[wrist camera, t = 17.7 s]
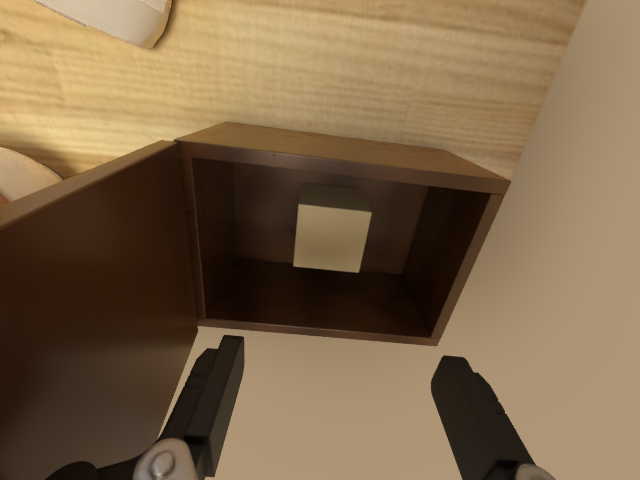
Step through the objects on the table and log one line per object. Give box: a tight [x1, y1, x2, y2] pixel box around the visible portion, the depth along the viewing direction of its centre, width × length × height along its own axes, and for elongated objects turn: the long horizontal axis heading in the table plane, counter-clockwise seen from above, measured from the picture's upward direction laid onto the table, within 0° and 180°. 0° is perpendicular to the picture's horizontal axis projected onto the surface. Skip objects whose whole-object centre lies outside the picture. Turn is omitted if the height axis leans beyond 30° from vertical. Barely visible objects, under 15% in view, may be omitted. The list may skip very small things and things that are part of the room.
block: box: [293, 183, 372, 273], centre depth 22 cm, size 5×5×5 cm
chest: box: [174, 122, 511, 346], centre depth 21 cm, size 18×13×9 cm
